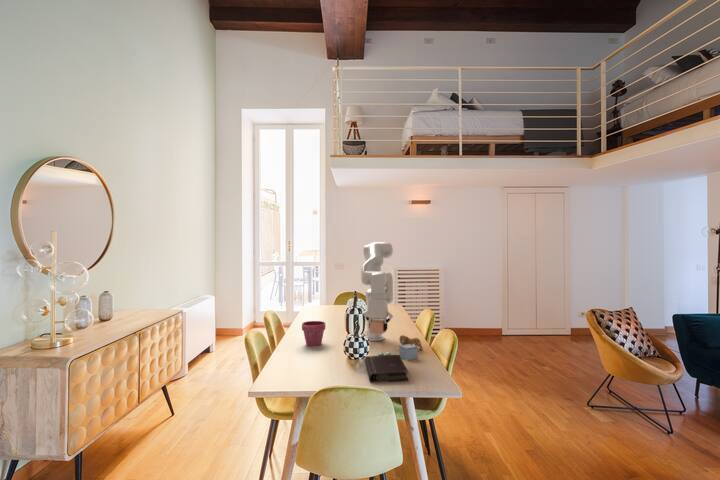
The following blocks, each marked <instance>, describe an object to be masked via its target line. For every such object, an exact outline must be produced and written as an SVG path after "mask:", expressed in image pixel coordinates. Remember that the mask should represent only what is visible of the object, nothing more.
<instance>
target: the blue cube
mask: <svg viewBox="0 0 720 480" xmlns="http://www.w3.org/2000/svg"><path fill="white" fill-rule="evenodd" d="M418 354H419V353H418V346H417V347H416V346H415V345H414V344H413V345H411V344H406V345H402V344H401V345H399V346H398V355H400V357H401V359H402V360H405V361H411V360H415V359H418Z"/></svg>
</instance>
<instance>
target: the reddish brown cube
mask: <svg viewBox="0 0 720 480" xmlns="http://www.w3.org/2000/svg"><path fill="white" fill-rule="evenodd" d="M387 330H388V329H387ZM387 330H386V331H384V321H383V319H373V320H371V321H370V333H375V334H382V335H384V333H386V332H387Z"/></svg>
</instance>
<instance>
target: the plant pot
mask: <svg viewBox="0 0 720 480" xmlns="http://www.w3.org/2000/svg"><path fill="white" fill-rule="evenodd" d="M301 330H302V331H303V335H304V339H305V343H306V346H310V347H317V346H321V345H322V344H323V343H322V342H323V337H324V332H325V330H326V322H325V321H321V320H311V321H309V320H308V321H304V322H302V324H301Z"/></svg>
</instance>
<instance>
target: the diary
mask: <svg viewBox="0 0 720 480" xmlns="http://www.w3.org/2000/svg"><path fill="white" fill-rule="evenodd" d="M378 355H379V354H378ZM378 355H370V356H365V357H364V364H365V368H366V372H367V375H368V380H369V383H372V378H373V381H374V382H375V383H376V382H387V383H395V382H396V383H397V382H398V383H399V382H400V383H401V382H408V381H409V378H408V376H407V374H409V373H410V372H409V370H408V368H407V367H406V365H405V363H404V360H403V358H401V357H400V355H399V354H391V355H385V354H384V355H379V356H378Z"/></svg>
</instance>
